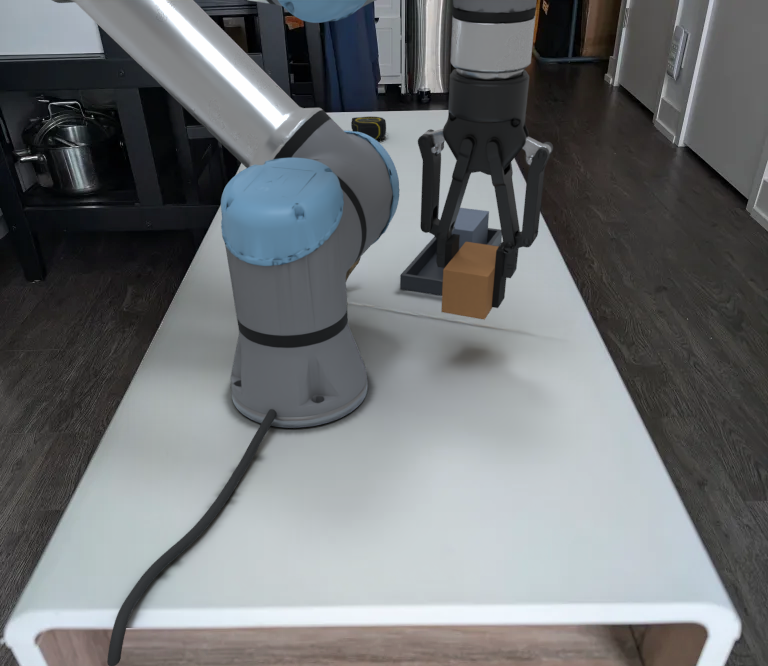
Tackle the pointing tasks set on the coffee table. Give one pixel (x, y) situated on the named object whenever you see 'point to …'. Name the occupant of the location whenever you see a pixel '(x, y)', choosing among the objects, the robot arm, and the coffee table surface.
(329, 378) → the robot arm
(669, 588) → the coffee table surface
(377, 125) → the tape measure
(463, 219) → the grey block
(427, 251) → the carrier tray
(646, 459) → the coffee table surface
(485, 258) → the brown block
